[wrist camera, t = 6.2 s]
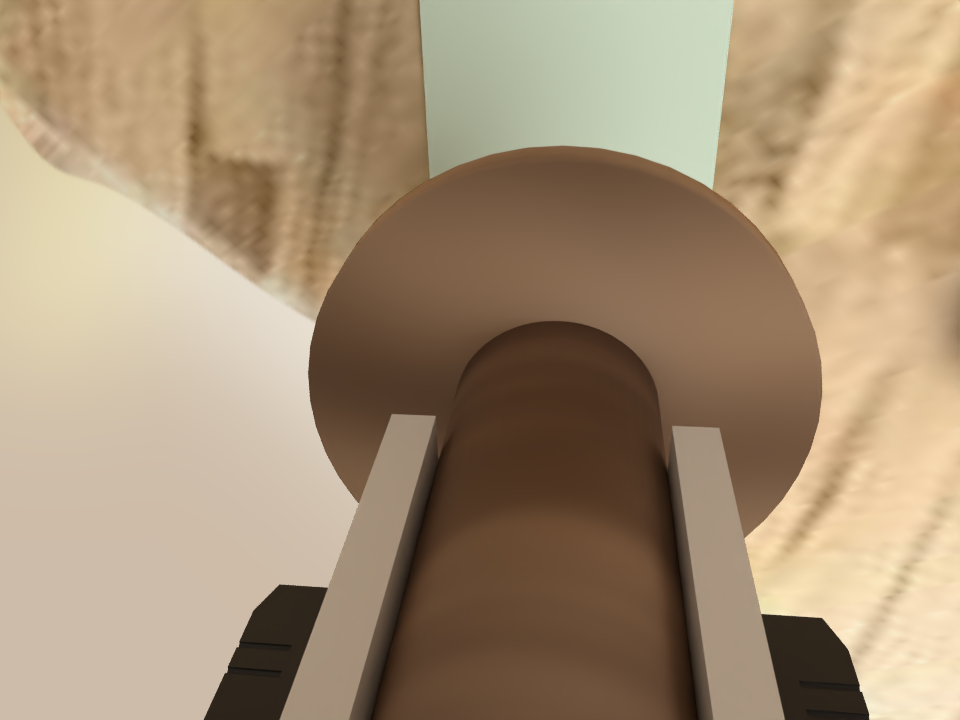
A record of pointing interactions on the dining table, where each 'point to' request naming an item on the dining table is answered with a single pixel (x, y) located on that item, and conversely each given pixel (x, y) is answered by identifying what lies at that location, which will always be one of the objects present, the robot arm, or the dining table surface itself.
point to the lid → (559, 419)
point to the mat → (576, 78)
